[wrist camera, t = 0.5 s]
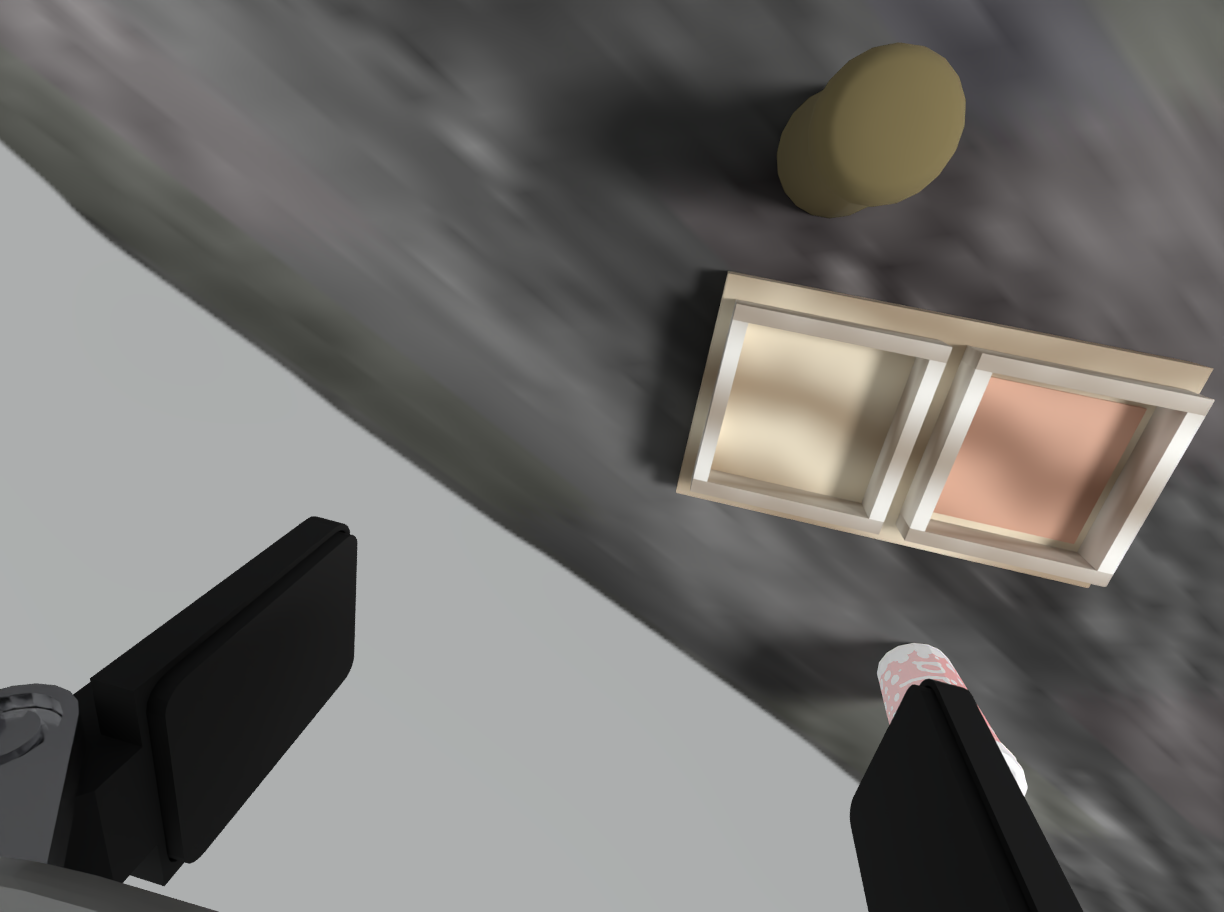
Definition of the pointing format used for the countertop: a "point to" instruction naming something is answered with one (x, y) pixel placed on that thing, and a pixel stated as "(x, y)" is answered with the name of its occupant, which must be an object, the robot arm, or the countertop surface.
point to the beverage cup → (915, 667)
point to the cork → (873, 132)
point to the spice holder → (936, 429)
